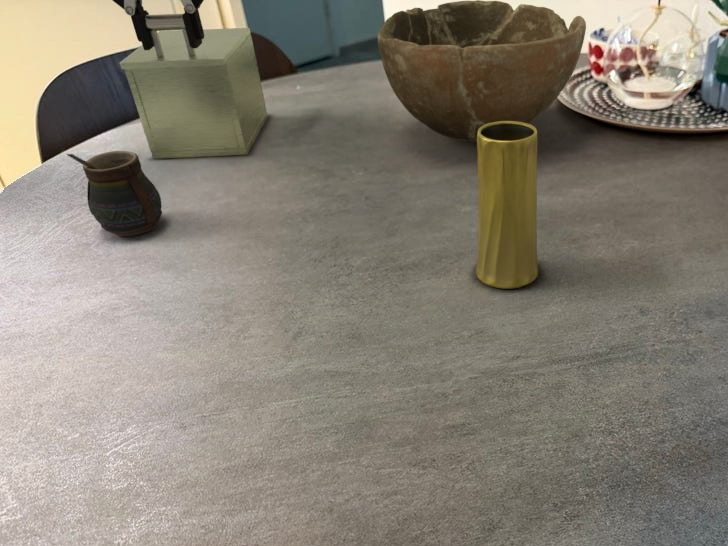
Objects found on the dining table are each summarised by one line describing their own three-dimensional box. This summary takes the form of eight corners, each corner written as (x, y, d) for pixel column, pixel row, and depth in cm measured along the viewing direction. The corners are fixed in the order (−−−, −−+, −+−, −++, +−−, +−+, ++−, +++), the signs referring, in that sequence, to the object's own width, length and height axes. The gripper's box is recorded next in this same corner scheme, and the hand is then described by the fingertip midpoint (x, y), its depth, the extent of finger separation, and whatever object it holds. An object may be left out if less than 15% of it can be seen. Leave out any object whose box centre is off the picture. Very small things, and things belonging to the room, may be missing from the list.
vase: (480, 257, 72) (477, 118, 63) (540, 259, 71) (545, 119, 62) (472, 288, 67) (466, 142, 58) (535, 291, 66) (540, 144, 58)
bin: (247, 154, 96) (226, 63, 89) (152, 159, 95) (123, 68, 88) (268, 116, 108) (250, 34, 101) (184, 120, 108) (161, 37, 101)
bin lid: (224, 65, 88) (213, 16, 84) (121, 69, 87) (105, 20, 84) (250, 33, 101) (241, -10, 98) (161, 37, 101) (149, -7, 97)
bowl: (511, 91, 115) (511, -10, 106) (617, 140, 97) (628, 23, 88) (356, 124, 104) (342, 14, 95) (442, 186, 86) (435, 57, 77)
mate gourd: (182, 219, 80) (156, 134, 74) (132, 249, 75) (99, 159, 69) (136, 209, 83) (106, 125, 77) (83, 237, 77) (47, 149, 71)
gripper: (32, -124, 74) (94, 57, 85) (195, -129, 75) (235, 51, 86) (61, -128, 80) (115, 42, 91) (212, -133, 80) (247, 36, 92)
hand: (173, 45), depth 88 cm, fingers closed on bin lid, 5 cm apart
